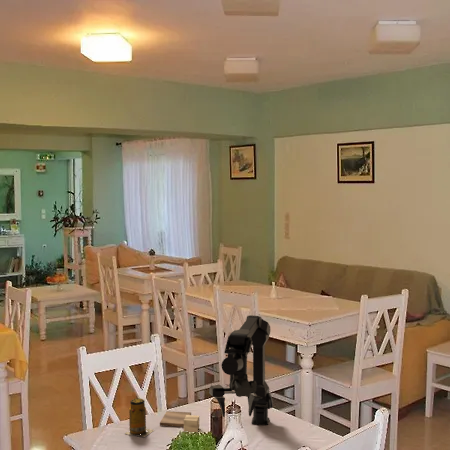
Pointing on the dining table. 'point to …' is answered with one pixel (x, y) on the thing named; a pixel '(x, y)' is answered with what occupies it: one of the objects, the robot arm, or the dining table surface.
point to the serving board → (174, 419)
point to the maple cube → (191, 423)
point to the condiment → (138, 418)
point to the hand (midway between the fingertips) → (236, 416)
